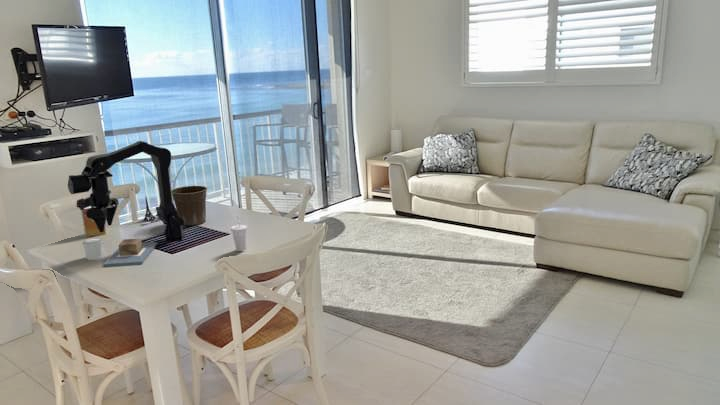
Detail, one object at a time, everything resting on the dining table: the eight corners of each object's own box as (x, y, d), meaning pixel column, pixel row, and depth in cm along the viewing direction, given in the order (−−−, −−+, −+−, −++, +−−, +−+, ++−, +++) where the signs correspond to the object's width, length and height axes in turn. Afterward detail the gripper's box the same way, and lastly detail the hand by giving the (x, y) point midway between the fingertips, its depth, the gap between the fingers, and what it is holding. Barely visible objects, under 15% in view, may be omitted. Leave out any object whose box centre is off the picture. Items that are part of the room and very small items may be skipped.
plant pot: (201, 215, 257) (197, 183, 252) (216, 221, 245) (213, 188, 241) (169, 222, 246) (164, 189, 242) (184, 230, 235) (179, 195, 230)
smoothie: (252, 248, 209) (249, 214, 205) (244, 253, 203) (240, 219, 199) (238, 246, 211) (235, 213, 207) (229, 252, 205) (226, 218, 202)
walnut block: (142, 248, 209) (140, 238, 208) (137, 254, 203) (136, 244, 201) (125, 249, 208) (123, 239, 207) (120, 255, 202) (118, 245, 201)
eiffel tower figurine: (141, 227, 242) (137, 199, 239) (129, 223, 248) (125, 197, 244) (169, 218, 254) (165, 192, 250) (157, 215, 260) (153, 190, 256)
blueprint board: (157, 244, 217) (157, 241, 217) (142, 264, 196) (141, 261, 196) (122, 246, 215) (122, 244, 215) (103, 266, 194) (103, 263, 194)
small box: (86, 237, 228) (81, 209, 225) (84, 234, 233) (79, 206, 230) (106, 233, 232) (101, 206, 229) (104, 230, 238) (99, 203, 234)
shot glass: (89, 254, 207) (86, 238, 205) (107, 253, 208) (104, 237, 206) (82, 261, 201) (79, 244, 199) (100, 260, 201) (97, 243, 199)
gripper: (86, 185, 205) (92, 222, 209) (67, 196, 187) (74, 237, 191) (116, 184, 207) (121, 221, 211) (100, 194, 189) (106, 235, 193)
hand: (105, 228), depth 201 cm, fingers open, 9 cm apart
